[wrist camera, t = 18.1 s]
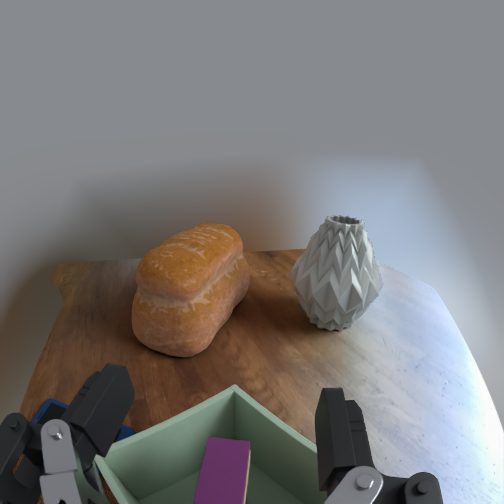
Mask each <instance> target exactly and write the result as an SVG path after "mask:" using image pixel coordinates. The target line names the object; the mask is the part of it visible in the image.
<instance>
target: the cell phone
mask: <svg viewBox="0 0 504 504" xmlns="http://www.w3.org/2000/svg"><path fill="white" fill-rule="evenodd" d="M67 408H68V405H66V404H63V403H61V402H59V401H56V400H54V399H51V398H50V399H47V400H46V401H45V402H44V404H43V405H42V407H41V408H40V409H39V411H38V412H37V414H36V415H35V416H34V418H33V419H32V421H31V422H30V423H36V424H43V425H44V424H45V423H46V422H48V421H50V420H53V419H60V418H61V417H62V416H63V414H64V412H65V411H66V409H67ZM133 435H135V432H134V430H133V429H132V428H130V427H127V426H124V425H121V427H120V429H119V431H118V433H117V435H116V437H115V439H114V441H113V443H115V442H118V441H120V440H123V439H125V438H128V437H130V436H133ZM113 443H112V444H113ZM94 461H95V460H94ZM95 463H96V462H95ZM96 467H97V470H98V473H99V474H101V475H102V473H101V472H100V470H99V468H98V466H97V464H96Z"/></svg>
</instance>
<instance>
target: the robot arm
mask: <svg viewBox="0 0 504 504" xmlns="http://www.w3.org/2000/svg"><path fill="white" fill-rule="evenodd" d="M133 400H134V389H133V386H132V383H131V380H130V377H129V374H128V371H127V368H126V367H125V366H122V365H118V364H113V363H107V364H106V365H105V367H104V368H103V370H102V371H101V372H99V371H97V372H96V373H94V374H93V375H91V376H90V377H89V378H88V379H87V380H86V382H85V383H84V385H83V387H82V388H81V389H80V390H79V392H78V394H77V395H76V396H75V398H74V399H73V401H72V402H71V404H70V405H69V406H68V408H67V409H66V411H65V412H64V414H63V416H62V417H61V418H60V419H53V420H50V421H48V422H46V423H45V424H44V425H43V424H36V423H30V422H28V421H27V420H26V418H25V417H24V416H23V415H22V414H20V413H11V414H9V415H8V416H7V417H6V418H5V419H4V420H3V422H2V423H1V425H0V504H37V501H38V499H39V497H40V494H41V492H42V496H43V501H44V504H111V503H110V502H109V500H108V499H107V497H106V495H105V492H104V489H103V486H102V483H101V480H100V477H99V473H98V470H97V467H96V463H95V461H94V458H95V456H96V455H99V456H101V457H104V458H106V455H107V453H108V451H109V449H110V447H111V445H112V443H113V441H114V439H115V437H116V435H117V433H118V431H119V429H120V427H121V425H122V423H123V421H124V419H125V417H126V415H127V413H128V411H129V409H130V407H131V405H132V403H133ZM315 432H316V446H317V462H318V479H319V491H327V500H326V501H325V502H324V503H323V504H443V500H442V495H441V490H440V486H439V482H438V480H437V478H436V477H435V476H434V475H432V474H430V473H427V472H420V473H416V474H414V475H413V476H411V477H410V478H398V477H390V476H386V475H384V474H382V473H380V472H379V471H378V470H377V469H376V468H375V466H374V464H373V461H372V456H371V451H370V446H369V441H368V436H367V432H366V427H365V423H364V419H363V414H362V410H361V408H360V407H359V406H358V404H357V403H356V402H355V401H354V400H345V397H344V392H343V389H342V388H323V389H322V392H321V395H320V399H319V402H318V406H317V409H316V413H315ZM22 453H23V454H24V457H23V459H22V461H21V463H20V465H19V467H18V469H17V471H16V473H15V474H14V475H13V469H14V467H15V465H16V463H17V461H18V460H19V458H20V456H21V454H22Z"/></svg>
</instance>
